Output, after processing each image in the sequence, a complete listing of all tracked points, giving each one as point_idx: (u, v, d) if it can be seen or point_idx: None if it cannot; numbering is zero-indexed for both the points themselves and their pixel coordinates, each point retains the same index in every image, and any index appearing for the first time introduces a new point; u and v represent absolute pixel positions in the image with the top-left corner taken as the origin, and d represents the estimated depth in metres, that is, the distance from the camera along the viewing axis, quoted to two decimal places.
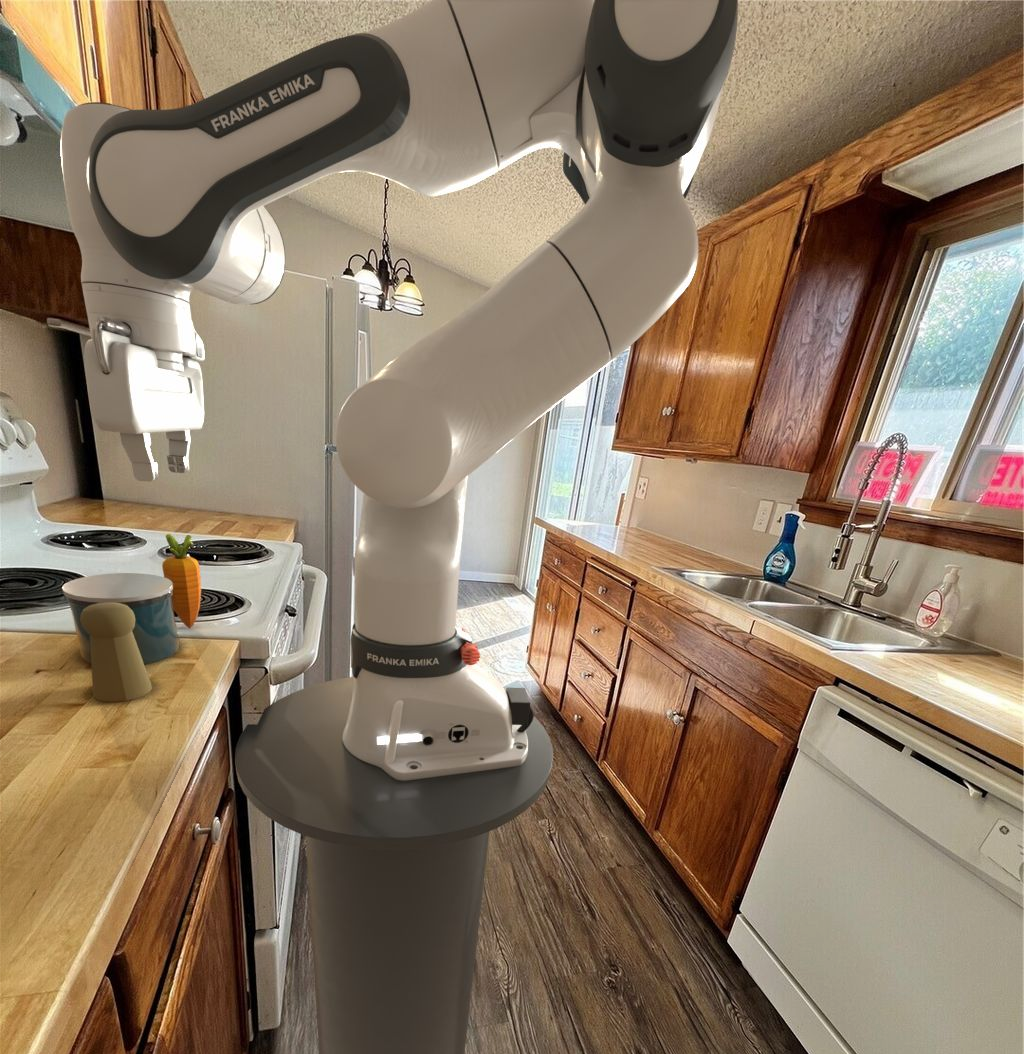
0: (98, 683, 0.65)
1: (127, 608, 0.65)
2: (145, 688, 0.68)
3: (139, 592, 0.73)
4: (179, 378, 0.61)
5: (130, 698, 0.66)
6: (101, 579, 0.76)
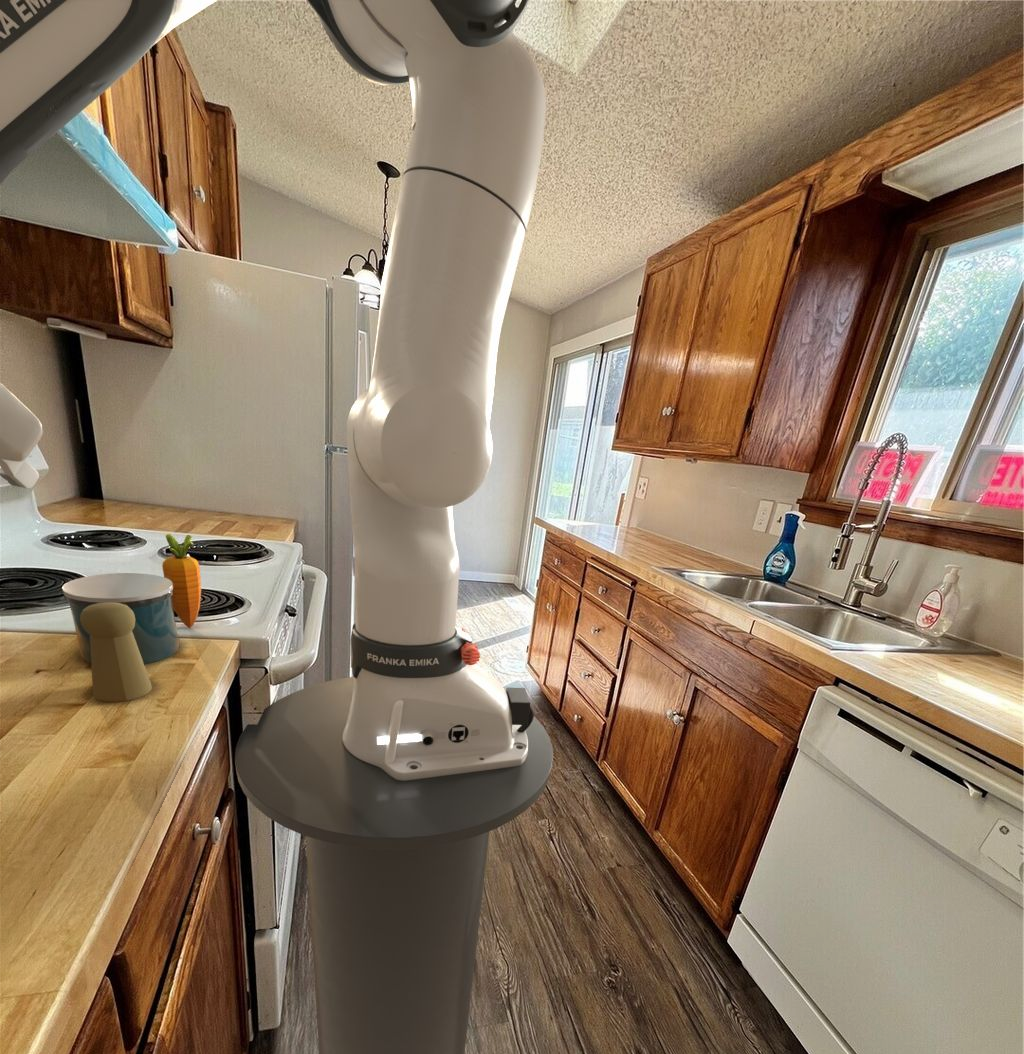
0: (98, 683, 0.65)
1: (127, 608, 0.65)
2: (145, 688, 0.68)
3: (139, 592, 0.73)
4: None
5: (130, 698, 0.66)
6: (101, 579, 0.76)
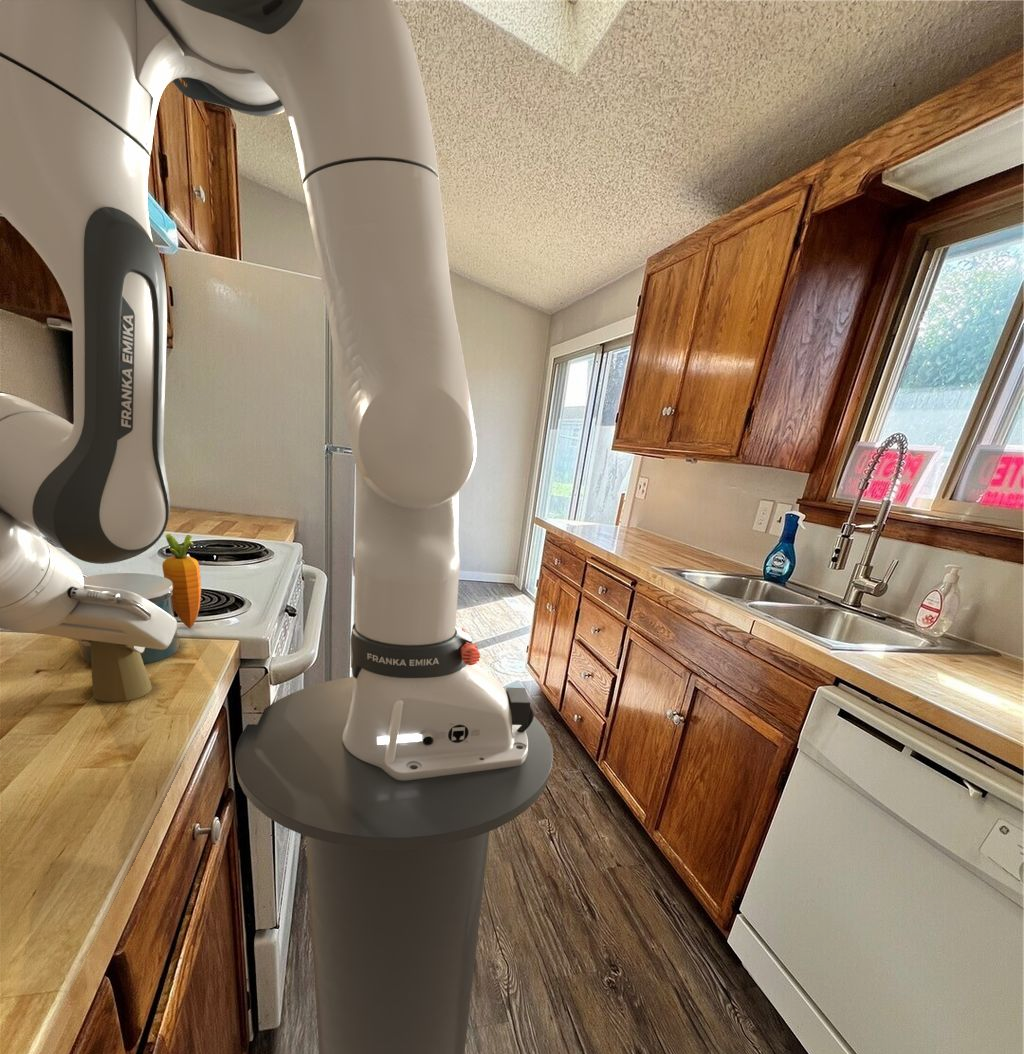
0: (98, 683, 0.65)
1: None
2: (145, 688, 0.68)
3: (139, 592, 0.73)
4: None
5: (130, 698, 0.66)
6: (101, 579, 0.76)
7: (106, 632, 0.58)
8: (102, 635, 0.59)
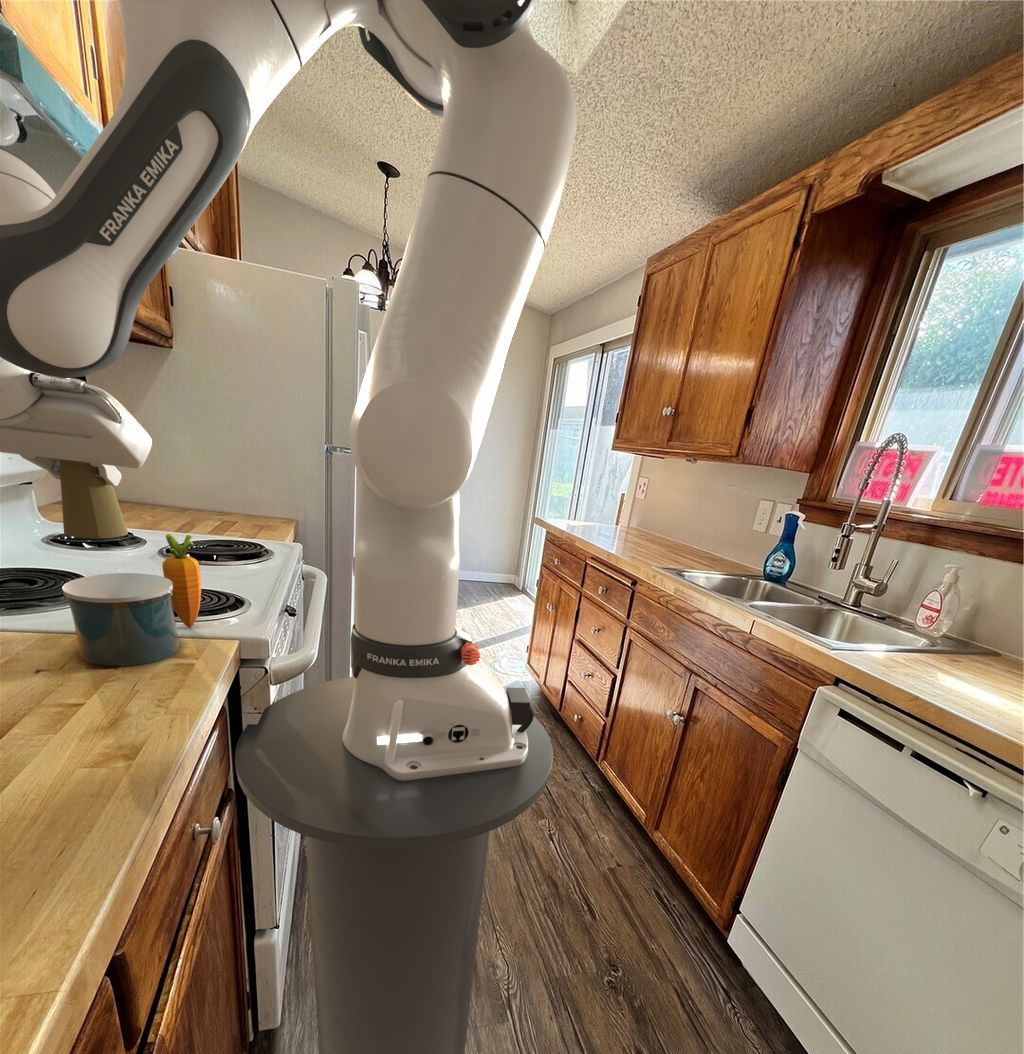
0: (68, 516, 0.61)
1: None
2: (120, 529, 0.64)
3: (139, 592, 0.73)
4: None
5: (103, 536, 0.62)
6: (101, 579, 0.76)
7: (73, 438, 0.54)
8: (70, 446, 0.55)
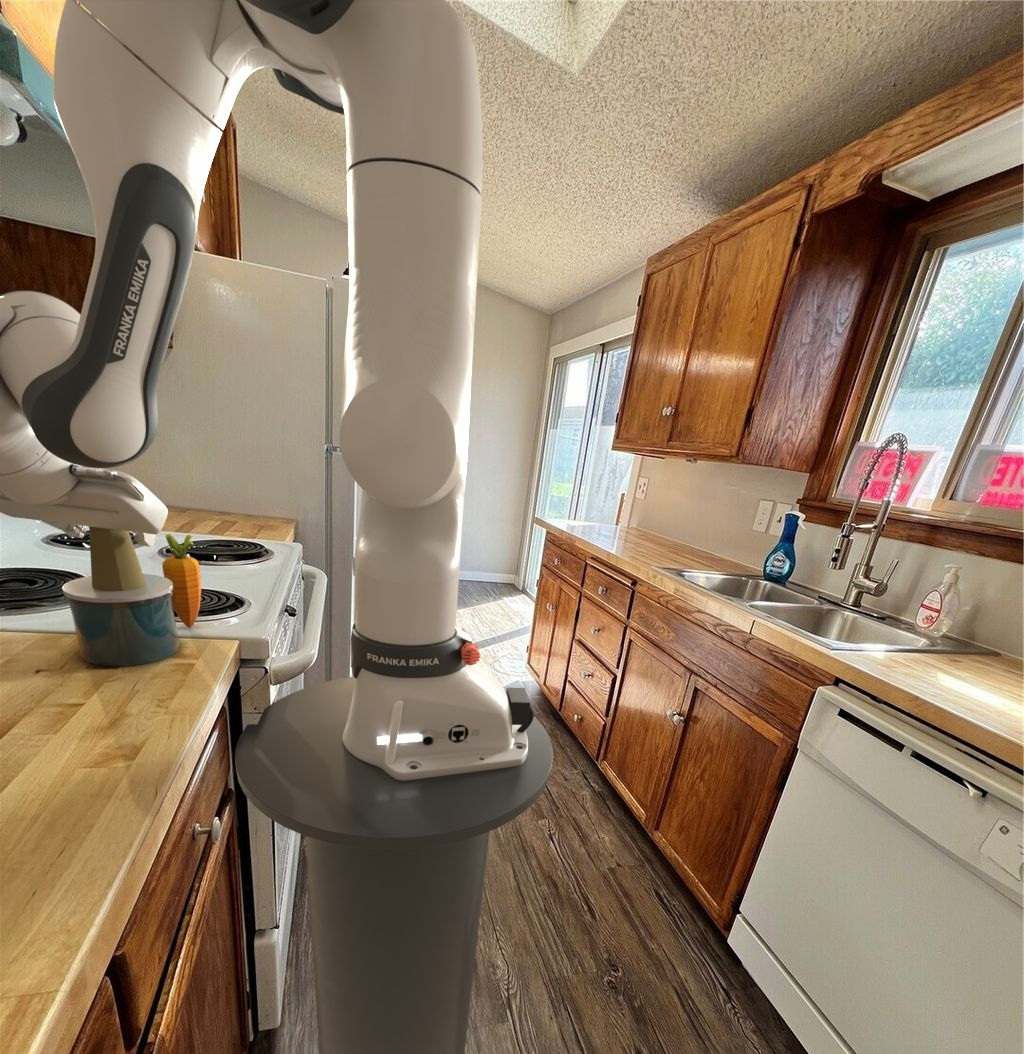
0: (96, 573, 0.72)
1: None
2: (139, 582, 0.75)
3: (139, 592, 0.73)
4: None
5: (126, 589, 0.73)
6: None
7: (103, 513, 0.64)
8: (100, 518, 0.66)
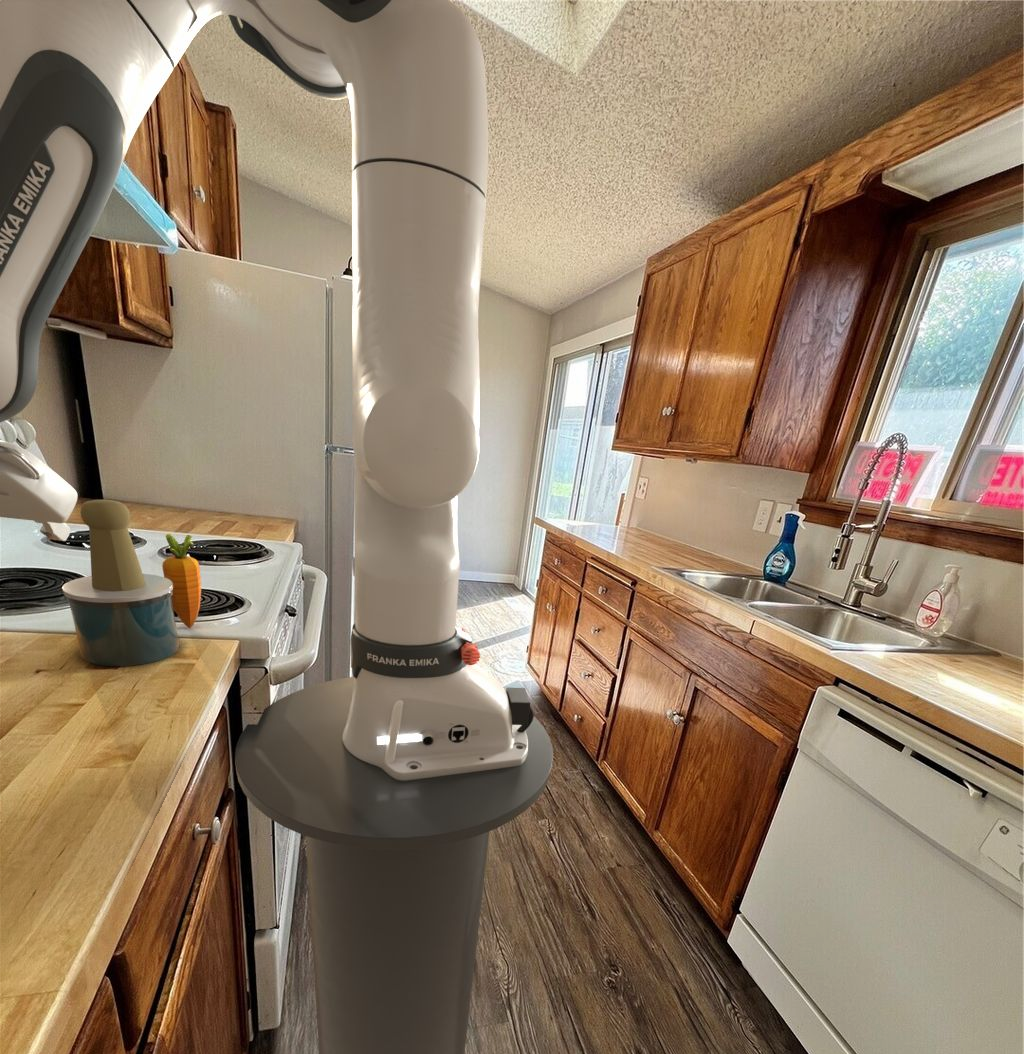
0: (96, 573, 0.72)
1: (123, 505, 0.71)
2: (139, 582, 0.75)
3: (139, 592, 0.73)
4: None
5: (126, 589, 0.73)
6: None
7: None
8: None
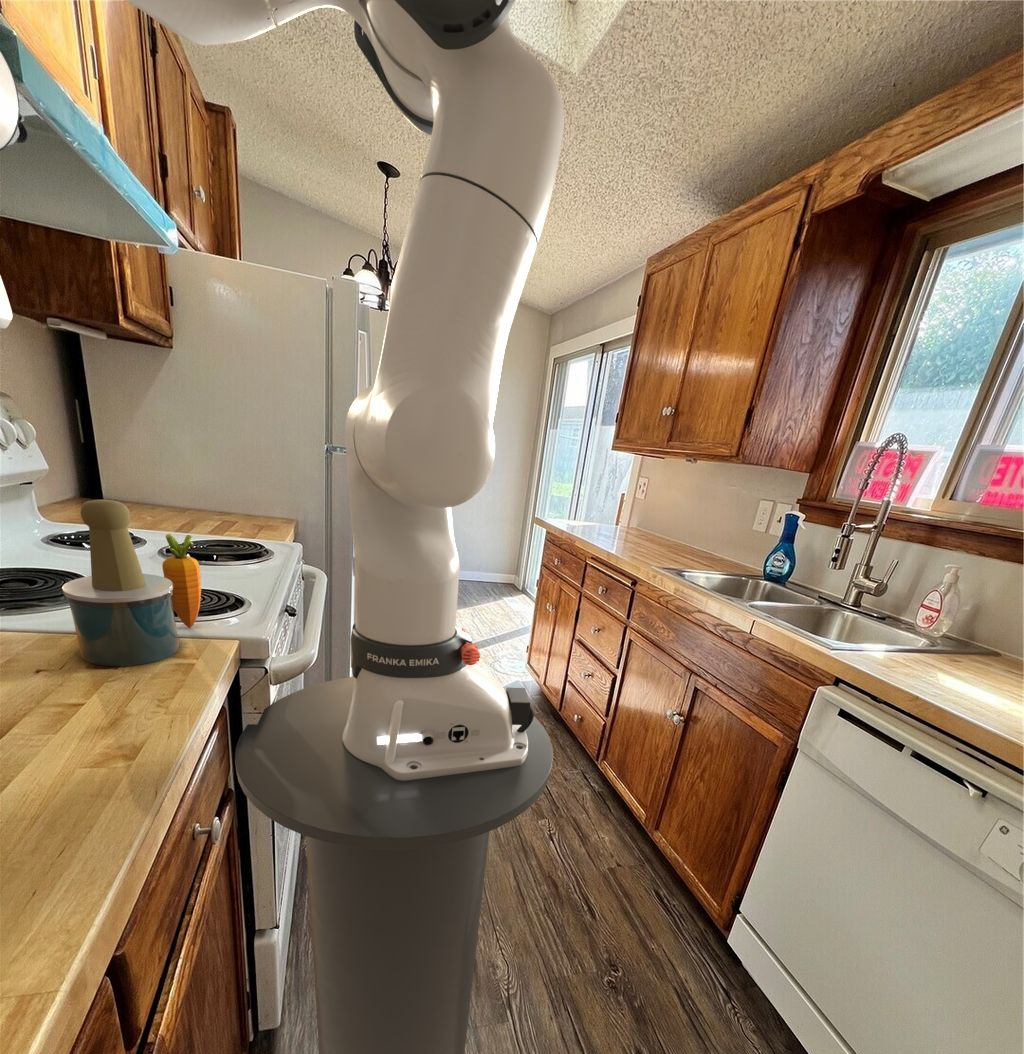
0: (96, 573, 0.72)
1: (123, 505, 0.71)
2: (139, 582, 0.75)
3: (139, 592, 0.73)
4: None
5: (126, 589, 0.73)
6: None
7: None
8: None
